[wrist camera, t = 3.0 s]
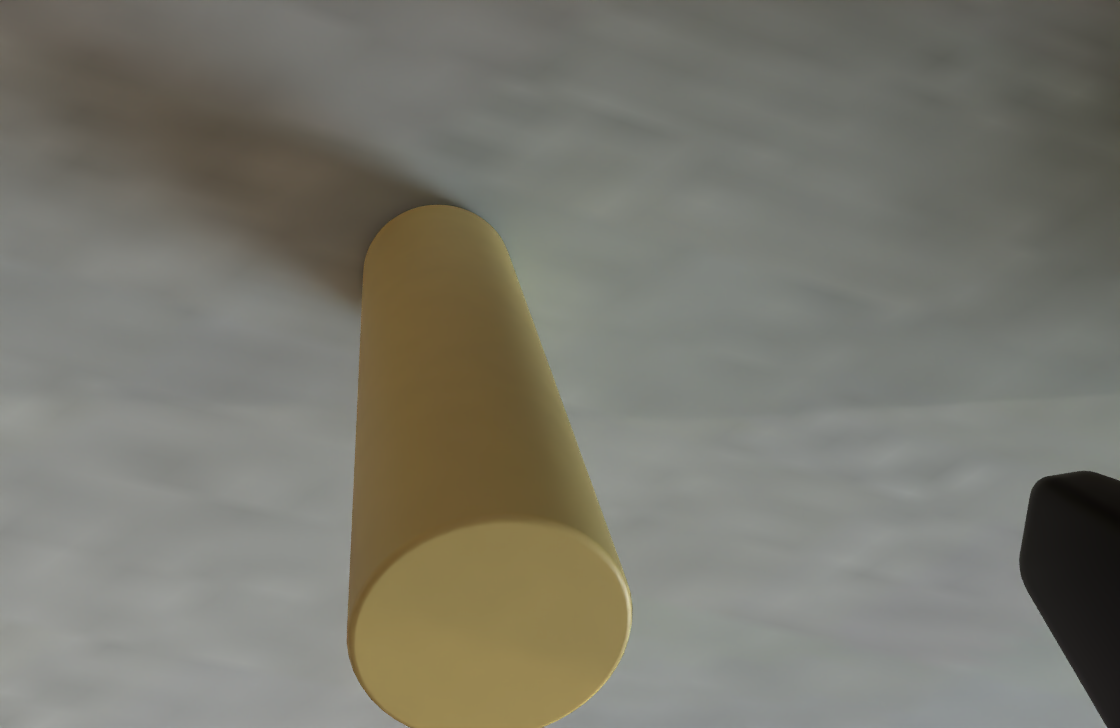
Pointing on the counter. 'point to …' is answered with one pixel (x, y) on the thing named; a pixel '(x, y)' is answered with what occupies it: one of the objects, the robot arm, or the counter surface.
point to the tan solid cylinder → (470, 496)
